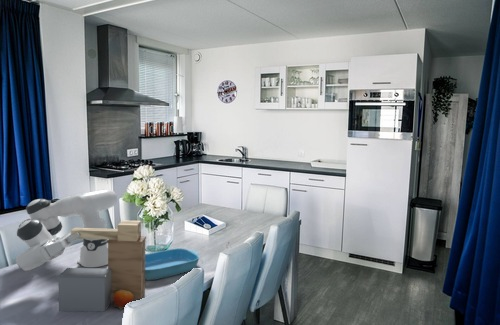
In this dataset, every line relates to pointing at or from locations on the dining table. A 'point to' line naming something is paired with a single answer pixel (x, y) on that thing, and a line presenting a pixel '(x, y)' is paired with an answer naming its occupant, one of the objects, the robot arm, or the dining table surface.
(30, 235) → the robot arm
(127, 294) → the fruit
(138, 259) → the shelf block
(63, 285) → the storage box
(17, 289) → the dining table surface
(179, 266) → the casserole dish
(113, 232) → the mallet
